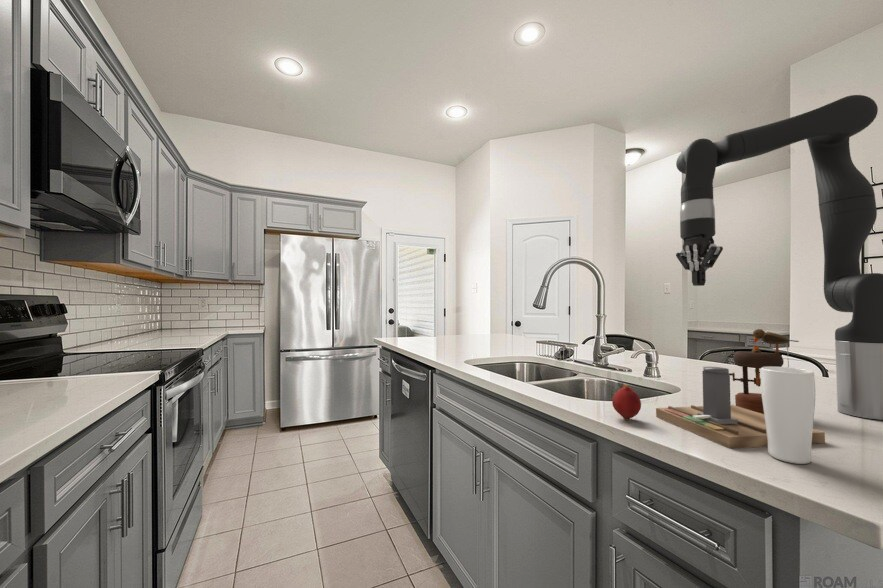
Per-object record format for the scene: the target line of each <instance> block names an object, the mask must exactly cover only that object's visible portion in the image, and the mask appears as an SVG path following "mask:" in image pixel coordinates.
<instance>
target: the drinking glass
mask: <svg viewBox="0 0 883 588" xmlns="http://www.w3.org/2000/svg"><path fill="white" fill-rule="evenodd" d="M760 378H761V385H760V391H761V392H760V394H761V395H762V402H763V410H764V417H765V424H766V432H767V440H768V446H767V453H768V455H770V456H771V457H773V458H775V459H777V460H779V461H782V462H786V463H790V464H797V465H806V464H809V463H811V462H812V445H813V444H812V432H813V429H814V420H815V419H814V417H815V407H816V395H817V394H816V380H815V379H816V377H815V372H814V371H812V370H810V369H803V368H796V367H790V366H789V367H788V366H787V367H786V366H782V367H772V366H769V367H762V368H760Z"/></svg>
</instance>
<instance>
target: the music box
mask: <svg viewBox="0 0 883 588" xmlns="http://www.w3.org/2000/svg"><path fill="white" fill-rule="evenodd" d="M752 336H753V337H754V339H753V344H755V343H756V342H757V341H758V340H760V339H761V340H762V342H764V343H765V344H770V345H775V351H774V353H773V352H762V351H761V348H760V346H759V345H757V346H755V345H753V348H752V349H751V351H736V352H735V353H734V354H733V356H732V358H733V359H732V360H733V362H734V363H735V365H736V366H737V367H741V369H742V377H740V378H736V377H735V376H736V374H735V372H732V373H730V372H729V373H730V376H732V381H733V382H735V381H738V382H741V383H742V387H743V392H738V393H737V394H735V395H734V399H735V406H738V407H741V408H744V409H748V410H751V411H755V412H758V413H761V414H764V410H763V402H762V395H761V393H759V392H758V393H757V392H749V382H751V383H753V384H754V385H756V386H755V387H758V388H761V368H762V367H769V366H772V367H783V365H784V360H785V359H784V358H783V356H782V355H781V351H779V345H784V344H785V346H786V351H787V356H789V347H790V346H788V345H787V343H789V342H795V343H799V342H800V341H799V340H792V339H789V338H787V337H785V336H784V335H781V334H778V333H776V332H771V331H767V332H765V330H763V329H760V328H757V329H754V330H753V332H752ZM789 364H790V363H789V359H787V367H789V368H790V365H789ZM748 368H751V369H752V368H754V372H755V377H753V379H749V372H748V370H749V369H748Z"/></svg>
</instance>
